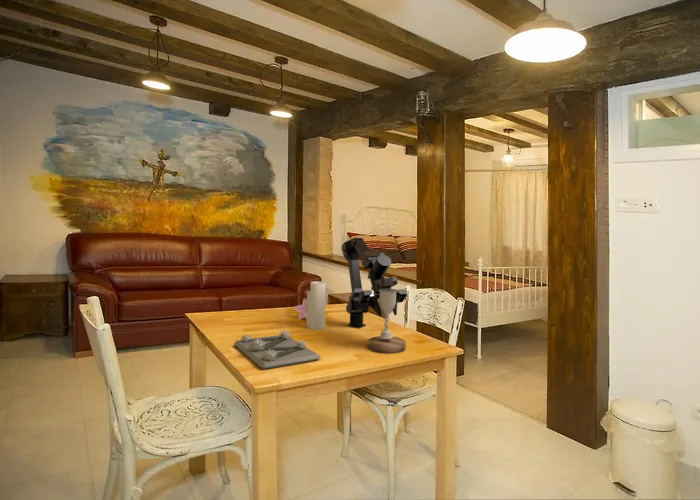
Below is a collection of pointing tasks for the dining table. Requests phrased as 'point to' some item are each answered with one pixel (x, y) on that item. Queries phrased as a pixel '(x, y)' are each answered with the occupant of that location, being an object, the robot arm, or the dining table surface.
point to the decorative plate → (276, 350)
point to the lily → (302, 309)
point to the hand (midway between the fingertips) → (388, 315)
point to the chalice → (387, 307)
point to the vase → (316, 305)
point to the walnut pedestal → (387, 345)
